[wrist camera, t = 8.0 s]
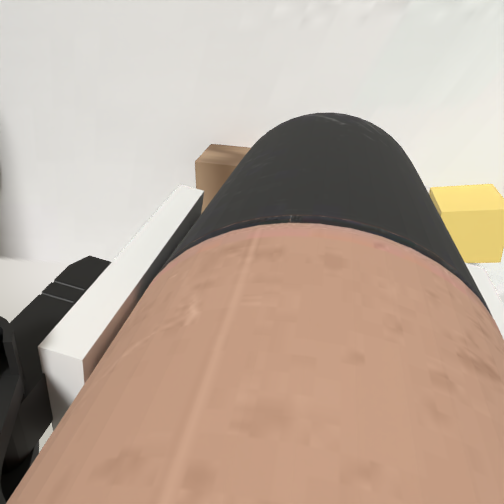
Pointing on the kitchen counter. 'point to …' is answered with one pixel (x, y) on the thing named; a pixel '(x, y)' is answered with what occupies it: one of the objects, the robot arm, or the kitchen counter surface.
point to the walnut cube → (216, 168)
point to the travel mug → (296, 348)
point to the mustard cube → (473, 220)
